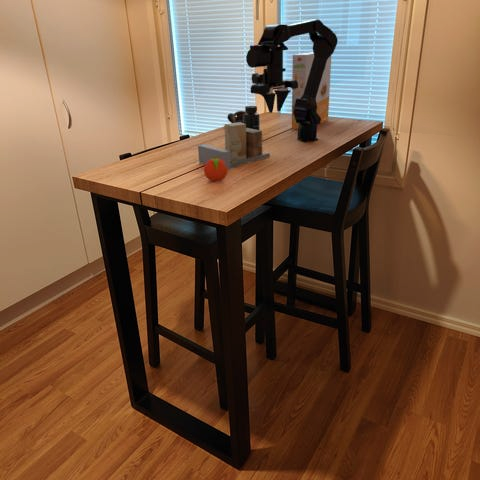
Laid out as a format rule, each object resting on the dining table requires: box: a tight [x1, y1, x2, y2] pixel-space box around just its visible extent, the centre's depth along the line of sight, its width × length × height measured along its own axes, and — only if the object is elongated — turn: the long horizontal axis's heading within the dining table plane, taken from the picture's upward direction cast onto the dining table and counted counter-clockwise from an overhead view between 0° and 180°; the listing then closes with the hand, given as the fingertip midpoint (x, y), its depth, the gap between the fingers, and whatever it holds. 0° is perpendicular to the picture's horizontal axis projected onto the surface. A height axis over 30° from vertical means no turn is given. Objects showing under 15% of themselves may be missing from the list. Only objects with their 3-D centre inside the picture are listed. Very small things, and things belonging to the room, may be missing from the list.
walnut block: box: [246, 128, 263, 159], centre depth 149 cm, size 4×9×9 cm, turn 42°
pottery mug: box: [226, 110, 246, 123], centre depth 194 cm, size 12×10×8 cm
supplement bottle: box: [243, 105, 261, 131], centre depth 176 cm, size 7×7×12 cm
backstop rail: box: [197, 143, 271, 171], centre depth 146 cm, size 21×14×6 cm, turn 132°
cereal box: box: [291, 51, 332, 130], centre depth 187 cm, size 22×6×30 cm, turn 143°
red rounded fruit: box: [203, 158, 228, 183], centre depth 125 cm, size 8×7×7 cm
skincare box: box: [224, 122, 247, 163], centre depth 145 cm, size 6×4×12 cm
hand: (274, 111), depth 154 cm, fingers open, 4 cm apart
